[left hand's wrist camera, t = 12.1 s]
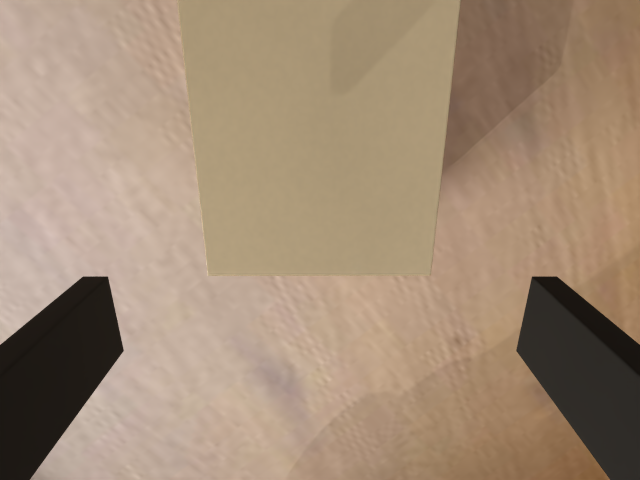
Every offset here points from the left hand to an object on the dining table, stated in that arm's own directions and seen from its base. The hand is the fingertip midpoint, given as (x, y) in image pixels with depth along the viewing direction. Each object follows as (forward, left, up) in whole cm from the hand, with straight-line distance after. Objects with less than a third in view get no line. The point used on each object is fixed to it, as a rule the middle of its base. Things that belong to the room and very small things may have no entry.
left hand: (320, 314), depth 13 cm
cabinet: (+6, -1, -18) cm, 19 cm away
